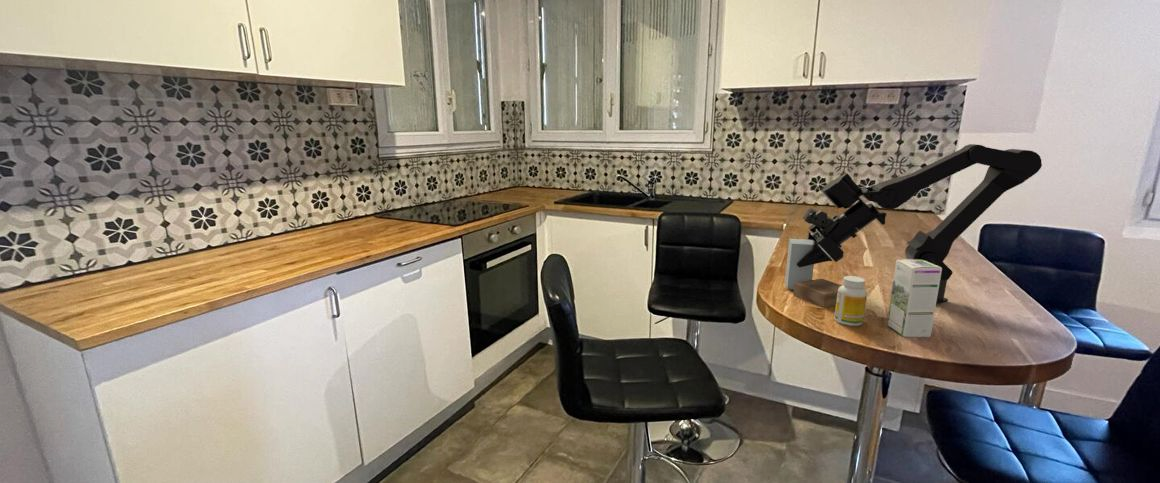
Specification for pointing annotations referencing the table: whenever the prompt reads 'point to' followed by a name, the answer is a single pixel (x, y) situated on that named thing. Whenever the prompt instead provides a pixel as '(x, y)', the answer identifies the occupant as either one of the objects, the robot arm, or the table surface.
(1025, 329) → the table surface
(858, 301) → the supplement bottle
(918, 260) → the syrup box
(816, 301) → the walnut block
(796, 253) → the slate pillar
